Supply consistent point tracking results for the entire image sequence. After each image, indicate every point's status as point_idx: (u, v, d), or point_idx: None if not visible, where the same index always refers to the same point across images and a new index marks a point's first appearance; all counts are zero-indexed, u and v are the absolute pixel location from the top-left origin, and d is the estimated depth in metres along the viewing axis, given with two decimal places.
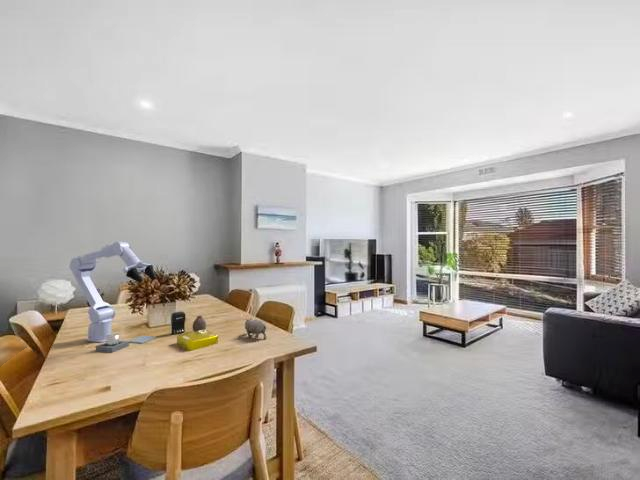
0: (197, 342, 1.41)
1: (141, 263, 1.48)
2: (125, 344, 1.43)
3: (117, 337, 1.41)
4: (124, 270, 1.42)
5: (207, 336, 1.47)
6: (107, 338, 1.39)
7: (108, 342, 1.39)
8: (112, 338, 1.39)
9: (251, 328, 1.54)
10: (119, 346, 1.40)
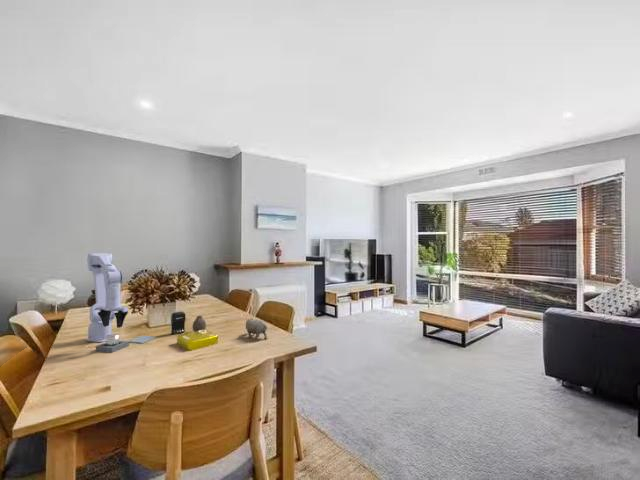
0: (197, 342, 1.41)
1: (107, 309, 1.38)
2: (125, 344, 1.43)
3: (117, 337, 1.41)
4: None
5: (207, 336, 1.47)
6: (107, 338, 1.39)
7: (108, 342, 1.39)
8: (112, 338, 1.39)
9: (252, 328, 1.54)
10: (119, 346, 1.40)
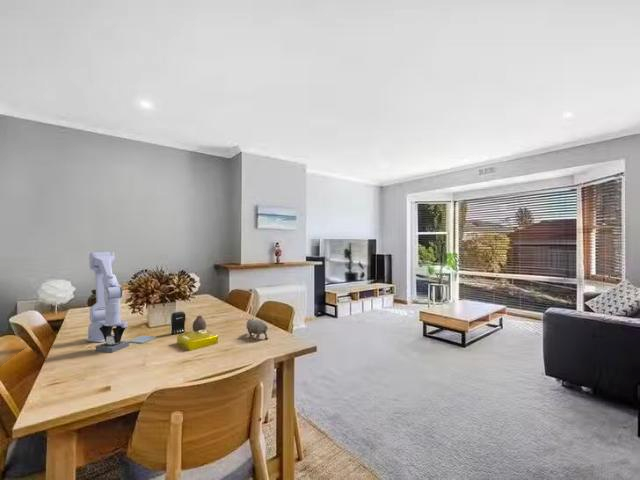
0: (197, 342, 1.41)
1: None
2: (125, 344, 1.43)
3: None
4: None
5: (207, 336, 1.47)
6: (107, 338, 1.39)
7: (108, 342, 1.39)
8: (112, 338, 1.39)
9: (252, 328, 1.54)
10: (119, 346, 1.40)
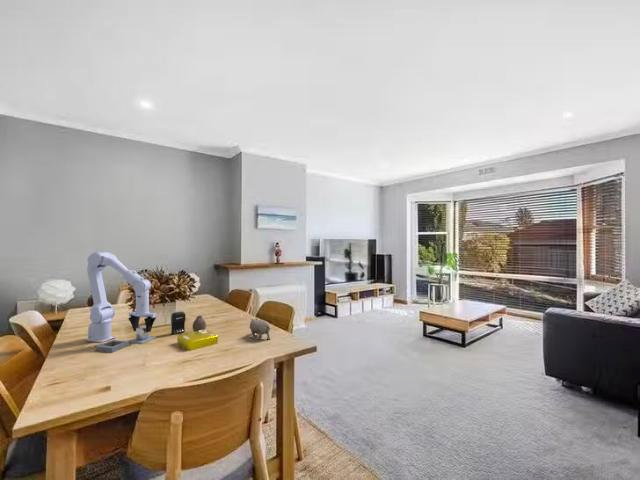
0: (197, 341, 1.41)
1: (138, 315, 1.50)
2: (125, 344, 1.43)
3: None
4: None
5: (207, 336, 1.47)
6: (137, 329, 1.51)
7: (138, 333, 1.51)
8: (141, 330, 1.51)
9: (255, 328, 1.54)
10: (119, 346, 1.40)
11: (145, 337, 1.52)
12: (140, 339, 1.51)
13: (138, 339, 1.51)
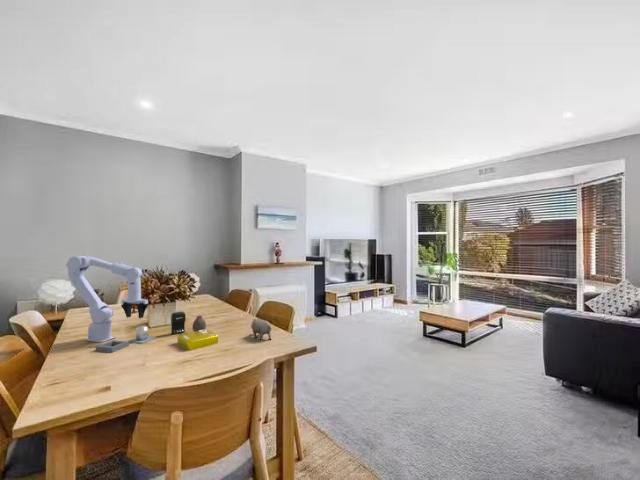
0: (197, 341, 1.41)
1: (130, 302, 1.54)
2: (125, 344, 1.43)
3: (146, 329, 1.52)
4: None
5: (207, 336, 1.47)
6: (137, 329, 1.51)
7: (138, 333, 1.51)
8: (141, 330, 1.51)
9: (256, 328, 1.54)
10: (119, 346, 1.40)
11: (145, 337, 1.52)
12: (140, 339, 1.51)
13: (138, 339, 1.51)
